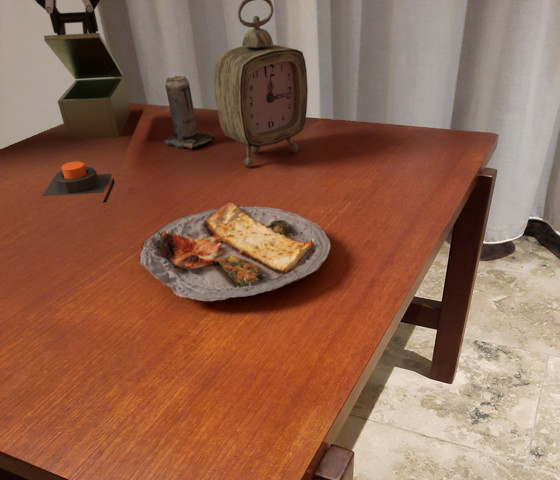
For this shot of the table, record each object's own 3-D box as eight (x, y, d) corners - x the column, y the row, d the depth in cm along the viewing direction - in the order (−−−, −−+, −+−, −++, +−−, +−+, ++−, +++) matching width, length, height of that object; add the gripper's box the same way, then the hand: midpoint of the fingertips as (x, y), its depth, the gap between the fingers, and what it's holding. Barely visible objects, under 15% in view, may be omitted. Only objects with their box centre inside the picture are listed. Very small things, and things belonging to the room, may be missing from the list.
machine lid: (99, 37, 100) (96, 5, 99) (43, 40, 99) (40, 8, 99) (123, 76, 116) (120, 49, 115) (75, 79, 116) (72, 52, 115)
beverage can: (160, 148, 108) (149, 80, 100) (180, 135, 114) (171, 70, 106) (201, 152, 106) (192, 84, 98) (219, 139, 111) (212, 73, 103)
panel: (44, 206, 90) (37, 185, 87) (56, 186, 96) (50, 166, 93) (106, 202, 90) (101, 181, 88) (114, 183, 96) (110, 163, 94)
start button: (62, 181, 89) (58, 170, 88) (67, 172, 92) (64, 162, 91) (84, 179, 89) (81, 169, 88) (89, 171, 92) (86, 160, 91)
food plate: (115, 253, 77) (109, 229, 75) (252, 205, 87) (250, 183, 85) (210, 336, 62) (206, 310, 59) (362, 266, 72) (364, 241, 70)
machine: (120, 145, 110) (110, 98, 104) (70, 148, 110) (57, 100, 104) (132, 121, 122) (123, 77, 116) (86, 123, 122) (75, 79, 116)
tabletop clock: (245, 173, 97) (232, 3, 81) (216, 159, 103) (199, -2, 86) (307, 152, 104) (307, -9, 87) (277, 140, 109) (272, -13, 93)
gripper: (-12, -87, 88) (25, 43, 100) (95, -92, 89) (120, 39, 100) (3, -88, 94) (37, 35, 106) (104, -93, 94) (126, 31, 106)
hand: (77, 36), depth 103 cm, fingers closed on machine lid, 5 cm apart
